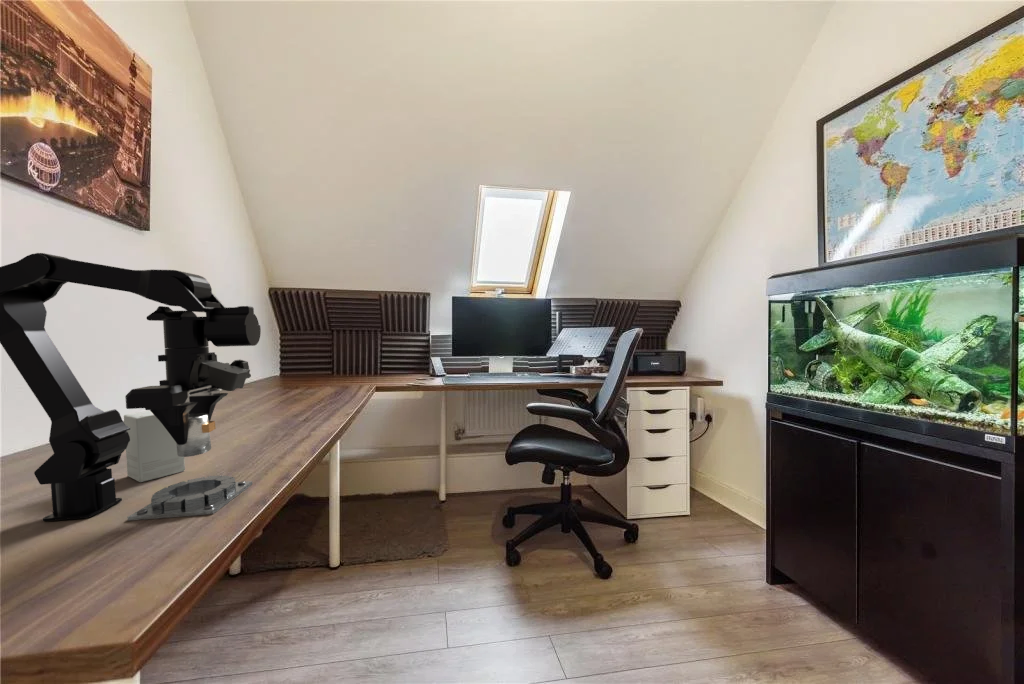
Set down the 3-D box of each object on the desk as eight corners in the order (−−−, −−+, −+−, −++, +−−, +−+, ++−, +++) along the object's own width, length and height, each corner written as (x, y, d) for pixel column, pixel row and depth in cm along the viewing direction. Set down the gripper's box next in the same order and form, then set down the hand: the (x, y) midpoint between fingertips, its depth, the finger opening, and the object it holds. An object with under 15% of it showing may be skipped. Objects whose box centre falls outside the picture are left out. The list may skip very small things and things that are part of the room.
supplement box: (186, 471, 83) (182, 410, 82) (138, 483, 76) (134, 417, 76) (172, 465, 87) (168, 407, 86) (126, 476, 80) (122, 414, 80)
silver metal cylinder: (170, 457, 65) (166, 422, 64) (188, 446, 70) (185, 413, 69) (206, 455, 66) (202, 420, 65) (222, 445, 70) (218, 412, 70)
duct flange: (127, 520, 61) (126, 506, 61) (181, 489, 73) (181, 477, 73) (212, 514, 63) (212, 500, 63) (252, 484, 75) (251, 472, 74)
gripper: (204, 349, 59) (209, 454, 59) (265, 344, 77) (269, 424, 78) (119, 351, 57) (125, 459, 58) (202, 345, 76) (207, 427, 76)
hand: (192, 440), depth 67 cm, fingers closed on silver metal cylinder, 5 cm apart
